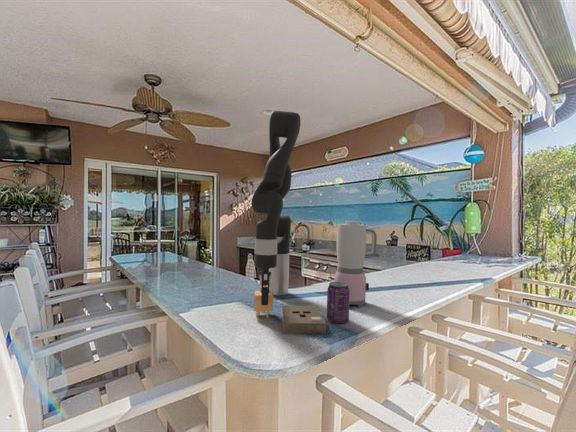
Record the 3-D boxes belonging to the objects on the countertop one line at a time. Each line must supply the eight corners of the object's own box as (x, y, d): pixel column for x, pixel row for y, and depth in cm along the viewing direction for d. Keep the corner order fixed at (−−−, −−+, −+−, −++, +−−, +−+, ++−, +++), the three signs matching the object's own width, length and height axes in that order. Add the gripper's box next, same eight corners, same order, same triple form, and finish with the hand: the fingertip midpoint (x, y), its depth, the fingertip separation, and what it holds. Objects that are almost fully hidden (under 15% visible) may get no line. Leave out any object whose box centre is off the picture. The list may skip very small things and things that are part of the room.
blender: (332, 306, 112) (334, 220, 112) (333, 297, 124) (336, 220, 124) (375, 309, 109) (378, 222, 109) (373, 300, 121) (375, 221, 121)
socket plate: (281, 314, 101) (281, 303, 101) (316, 314, 102) (316, 304, 102) (284, 333, 86) (284, 321, 85) (325, 333, 86) (326, 321, 86)
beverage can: (333, 315, 102) (334, 280, 102) (352, 320, 98) (353, 283, 98) (322, 320, 97) (323, 283, 97) (341, 326, 92) (343, 287, 92)
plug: (272, 312, 103) (272, 291, 103) (272, 318, 97) (273, 295, 97) (254, 312, 103) (255, 290, 102) (254, 318, 97) (254, 295, 97)
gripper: (278, 255, 93) (276, 307, 93) (276, 250, 107) (274, 295, 107) (254, 255, 92) (252, 307, 92) (254, 249, 106) (253, 295, 106)
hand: (264, 301), depth 100 cm, fingers open, 8 cm apart
